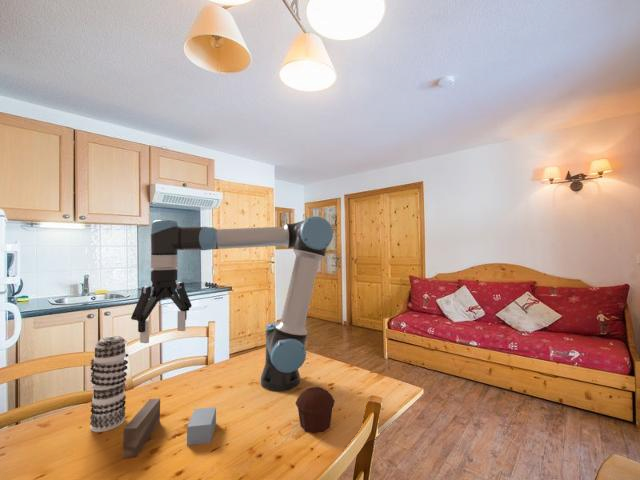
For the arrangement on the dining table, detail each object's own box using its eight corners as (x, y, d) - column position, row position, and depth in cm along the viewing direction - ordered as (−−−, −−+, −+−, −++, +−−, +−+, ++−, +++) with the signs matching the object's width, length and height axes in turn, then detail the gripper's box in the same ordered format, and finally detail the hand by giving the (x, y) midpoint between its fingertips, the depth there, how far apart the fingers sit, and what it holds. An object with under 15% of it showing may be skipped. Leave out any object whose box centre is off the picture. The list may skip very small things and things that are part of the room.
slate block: (215, 424, 88) (216, 406, 88) (210, 443, 79) (210, 424, 79) (194, 426, 87) (194, 408, 87) (186, 446, 78) (187, 426, 78)
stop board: (159, 422, 88) (160, 398, 89) (135, 456, 74) (136, 428, 74) (149, 423, 88) (149, 399, 88) (122, 457, 73) (123, 428, 73)
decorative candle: (93, 418, 90) (96, 336, 91) (129, 412, 94) (131, 332, 95) (83, 436, 82) (86, 344, 83) (123, 428, 85) (125, 340, 86)
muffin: (321, 410, 95) (321, 378, 96) (342, 427, 86) (342, 392, 86) (288, 421, 89) (288, 387, 89) (307, 441, 79) (307, 403, 80)
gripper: (186, 266, 107) (186, 325, 106) (117, 271, 84) (116, 347, 83) (202, 266, 104) (202, 327, 104) (135, 271, 81) (135, 350, 80)
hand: (164, 336), depth 93 cm, fingers open, 13 cm apart
